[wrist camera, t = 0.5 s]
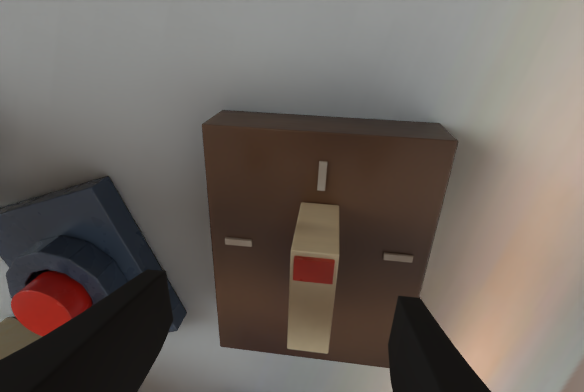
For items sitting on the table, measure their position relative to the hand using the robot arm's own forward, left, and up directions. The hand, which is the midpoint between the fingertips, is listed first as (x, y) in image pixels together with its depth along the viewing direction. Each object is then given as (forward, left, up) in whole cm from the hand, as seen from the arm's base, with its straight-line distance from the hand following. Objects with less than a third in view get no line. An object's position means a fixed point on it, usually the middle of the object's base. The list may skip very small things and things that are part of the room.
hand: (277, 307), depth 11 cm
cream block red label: (-2, -1, -6) cm, 7 cm away
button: (-7, +14, -6) cm, 17 cm away
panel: (-3, -1, -10) cm, 10 cm away
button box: (-7, +14, -10) cm, 18 cm away
